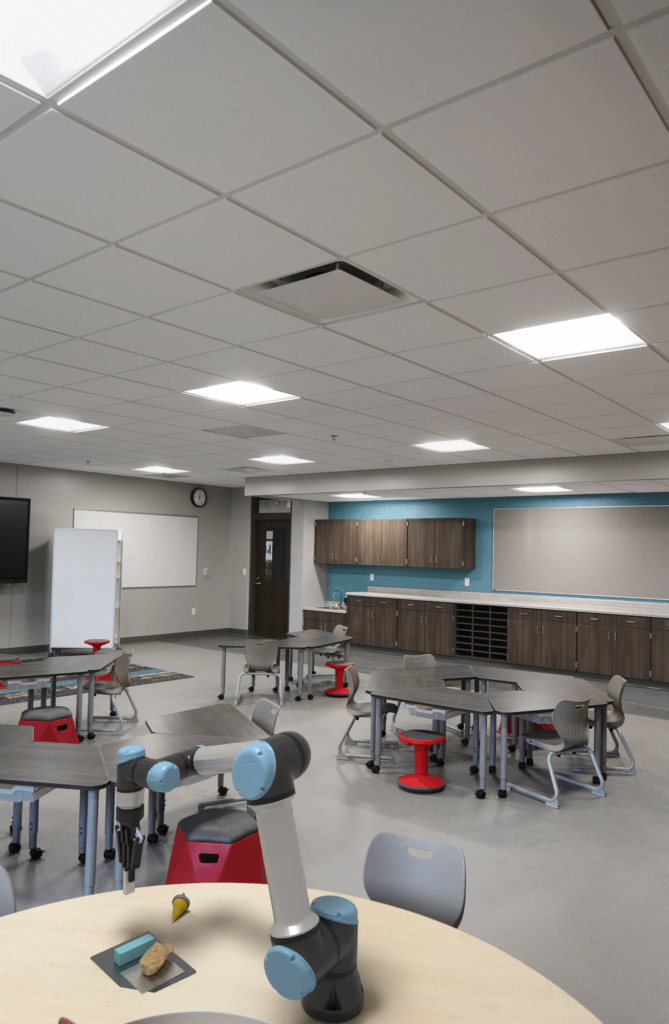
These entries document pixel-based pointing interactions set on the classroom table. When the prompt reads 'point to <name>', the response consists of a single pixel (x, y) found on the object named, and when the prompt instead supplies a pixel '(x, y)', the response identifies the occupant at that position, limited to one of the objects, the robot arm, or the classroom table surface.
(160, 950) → the stone tool
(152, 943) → the bar
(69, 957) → the classroom table surface
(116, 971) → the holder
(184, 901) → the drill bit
